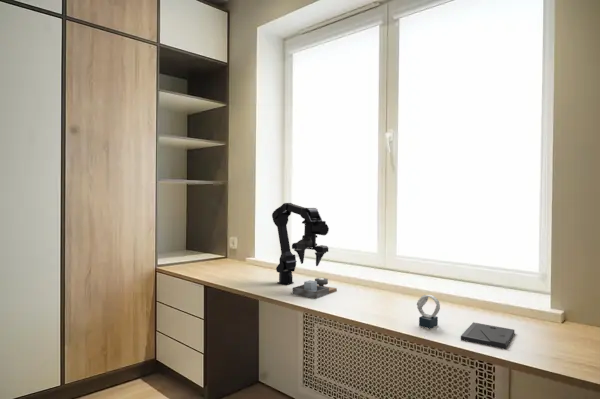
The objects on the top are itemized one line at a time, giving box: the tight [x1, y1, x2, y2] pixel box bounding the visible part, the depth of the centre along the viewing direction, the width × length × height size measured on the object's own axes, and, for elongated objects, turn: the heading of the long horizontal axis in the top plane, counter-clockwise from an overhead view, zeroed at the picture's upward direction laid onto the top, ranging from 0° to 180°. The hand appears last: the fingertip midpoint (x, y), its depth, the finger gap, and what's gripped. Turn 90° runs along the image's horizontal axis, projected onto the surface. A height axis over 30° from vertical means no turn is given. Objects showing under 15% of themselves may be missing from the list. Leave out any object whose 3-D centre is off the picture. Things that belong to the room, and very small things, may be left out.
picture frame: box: [460, 321, 515, 350], centre depth 135 cm, size 13×2×18 cm
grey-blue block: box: [303, 280, 317, 291], centre depth 191 cm, size 4×5×6 cm
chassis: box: [292, 284, 338, 299], centre depth 194 cm, size 14×18×3 cm
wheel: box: [314, 277, 329, 286], centre depth 198 cm, size 6×6×2 cm
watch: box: [416, 294, 441, 329], centre depth 146 cm, size 6×8×11 cm
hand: (309, 264), depth 199 cm, fingers open, 9 cm apart
